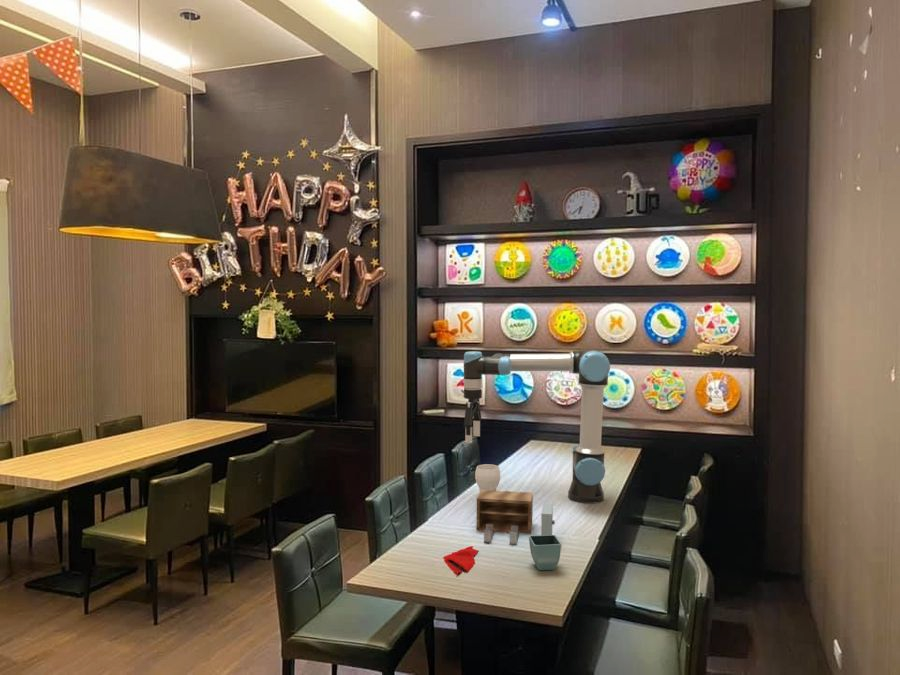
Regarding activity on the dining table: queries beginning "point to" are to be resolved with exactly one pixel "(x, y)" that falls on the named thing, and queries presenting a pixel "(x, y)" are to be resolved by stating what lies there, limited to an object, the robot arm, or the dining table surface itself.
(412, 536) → the dining table surface
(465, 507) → the dining table surface
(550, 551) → the flower pot
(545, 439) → the dining table surface
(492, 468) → the cup
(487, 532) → the hinge clips
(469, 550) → the cloth
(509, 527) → the cabinet
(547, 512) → the door
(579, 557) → the dining table surface
